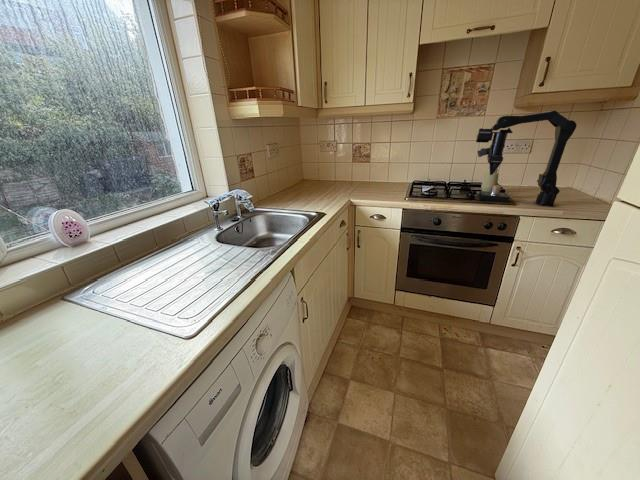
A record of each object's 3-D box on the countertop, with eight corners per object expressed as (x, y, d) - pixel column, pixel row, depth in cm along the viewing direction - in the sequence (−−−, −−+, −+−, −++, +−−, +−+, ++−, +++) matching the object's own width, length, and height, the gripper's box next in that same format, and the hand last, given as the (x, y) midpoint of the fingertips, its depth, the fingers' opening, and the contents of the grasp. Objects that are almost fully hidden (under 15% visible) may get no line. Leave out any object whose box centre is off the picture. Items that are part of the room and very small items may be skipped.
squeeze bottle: (482, 194, 156) (489, 163, 149) (478, 191, 164) (485, 161, 156) (497, 194, 155) (505, 163, 147) (492, 191, 162) (500, 161, 155)
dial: (498, 193, 146) (500, 184, 144) (499, 195, 142) (501, 186, 140) (489, 192, 147) (491, 184, 145) (490, 194, 144) (492, 185, 142)
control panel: (504, 198, 148) (506, 192, 146) (508, 202, 139) (509, 196, 138) (478, 196, 152) (479, 190, 151) (480, 200, 144) (481, 194, 143)
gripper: (480, 141, 146) (474, 170, 152) (480, 143, 131) (473, 175, 137) (504, 141, 141) (496, 171, 147) (507, 143, 126) (498, 176, 132)
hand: (490, 173), depth 141 cm, fingers open, 9 cm apart
